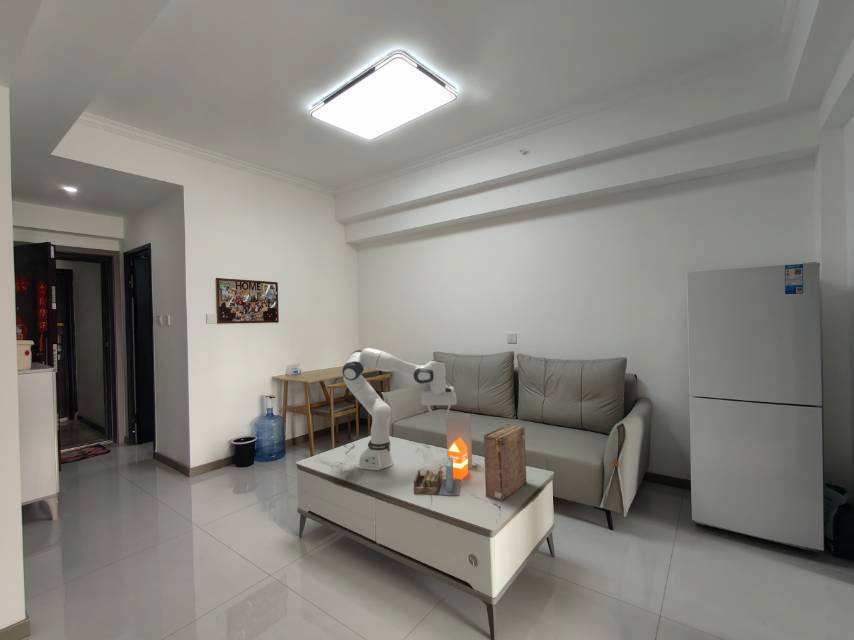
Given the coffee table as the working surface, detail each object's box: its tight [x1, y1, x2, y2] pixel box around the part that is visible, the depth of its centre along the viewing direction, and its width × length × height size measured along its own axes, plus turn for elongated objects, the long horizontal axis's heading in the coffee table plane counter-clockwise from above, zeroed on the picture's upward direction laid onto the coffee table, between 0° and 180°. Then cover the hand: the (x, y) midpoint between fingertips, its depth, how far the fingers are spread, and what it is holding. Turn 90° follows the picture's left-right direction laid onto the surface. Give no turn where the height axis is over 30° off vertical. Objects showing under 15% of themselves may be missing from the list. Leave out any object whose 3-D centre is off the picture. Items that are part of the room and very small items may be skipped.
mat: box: [438, 478, 462, 497], centre depth 202 cm, size 10×18×1 cm, turn 171°
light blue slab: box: [445, 456, 455, 492], centre depth 203 cm, size 2×12×13 cm, turn 171°
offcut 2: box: [431, 473, 438, 488], centre depth 204 cm, size 2×9×6 cm, turn 171°
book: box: [483, 423, 527, 502], centre depth 198 cm, size 25×9×30 cm, turn 139°
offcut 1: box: [426, 471, 434, 487], centre depth 204 cm, size 2×10×6 cm, turn 171°
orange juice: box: [447, 438, 469, 480], centre depth 218 cm, size 8×9×20 cm
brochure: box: [445, 413, 473, 469], centre depth 230 cm, size 14×6×30 cm, turn 84°
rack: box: [413, 469, 442, 495], centre depth 204 cm, size 12×16×6 cm
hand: (439, 412), depth 222 cm, fingers open, 8 cm apart
